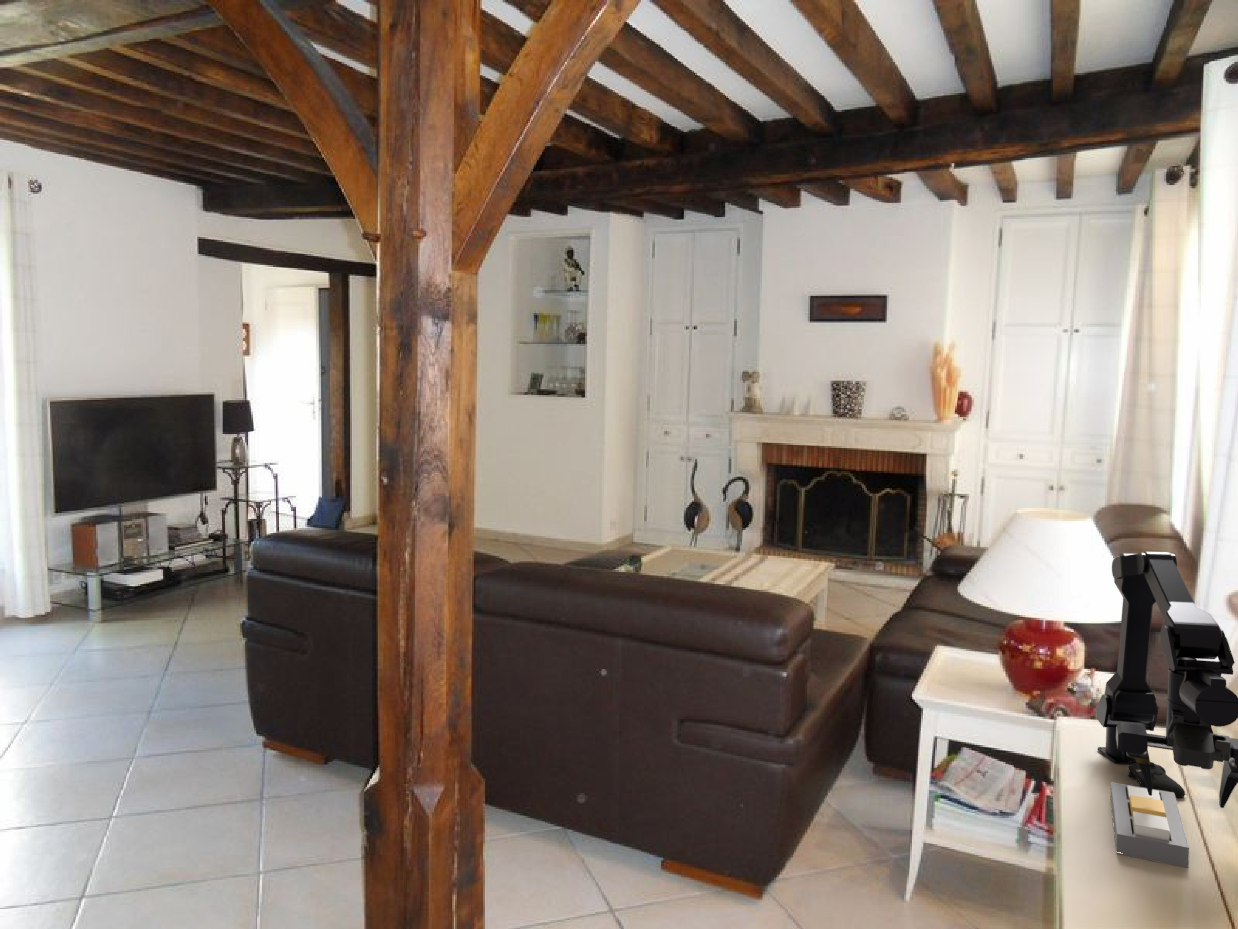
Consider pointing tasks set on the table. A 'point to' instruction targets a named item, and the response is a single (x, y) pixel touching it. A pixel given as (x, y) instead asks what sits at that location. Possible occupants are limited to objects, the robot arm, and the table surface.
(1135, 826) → the button
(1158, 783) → the game controller
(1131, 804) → the button mid
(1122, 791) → the switch strip
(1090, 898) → the table surface
